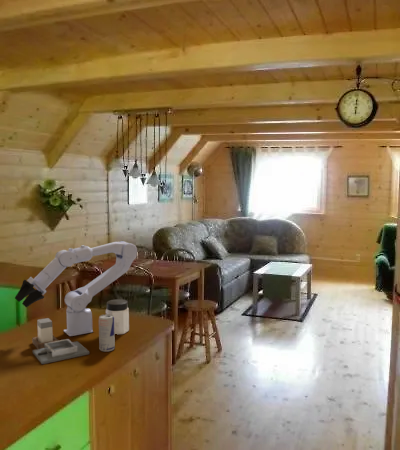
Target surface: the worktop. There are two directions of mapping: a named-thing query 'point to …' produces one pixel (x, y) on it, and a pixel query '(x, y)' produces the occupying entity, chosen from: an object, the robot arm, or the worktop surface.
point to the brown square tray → (41, 345)
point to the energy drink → (106, 333)
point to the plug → (44, 330)
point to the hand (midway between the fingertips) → (20, 302)
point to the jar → (119, 315)
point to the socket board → (59, 351)
